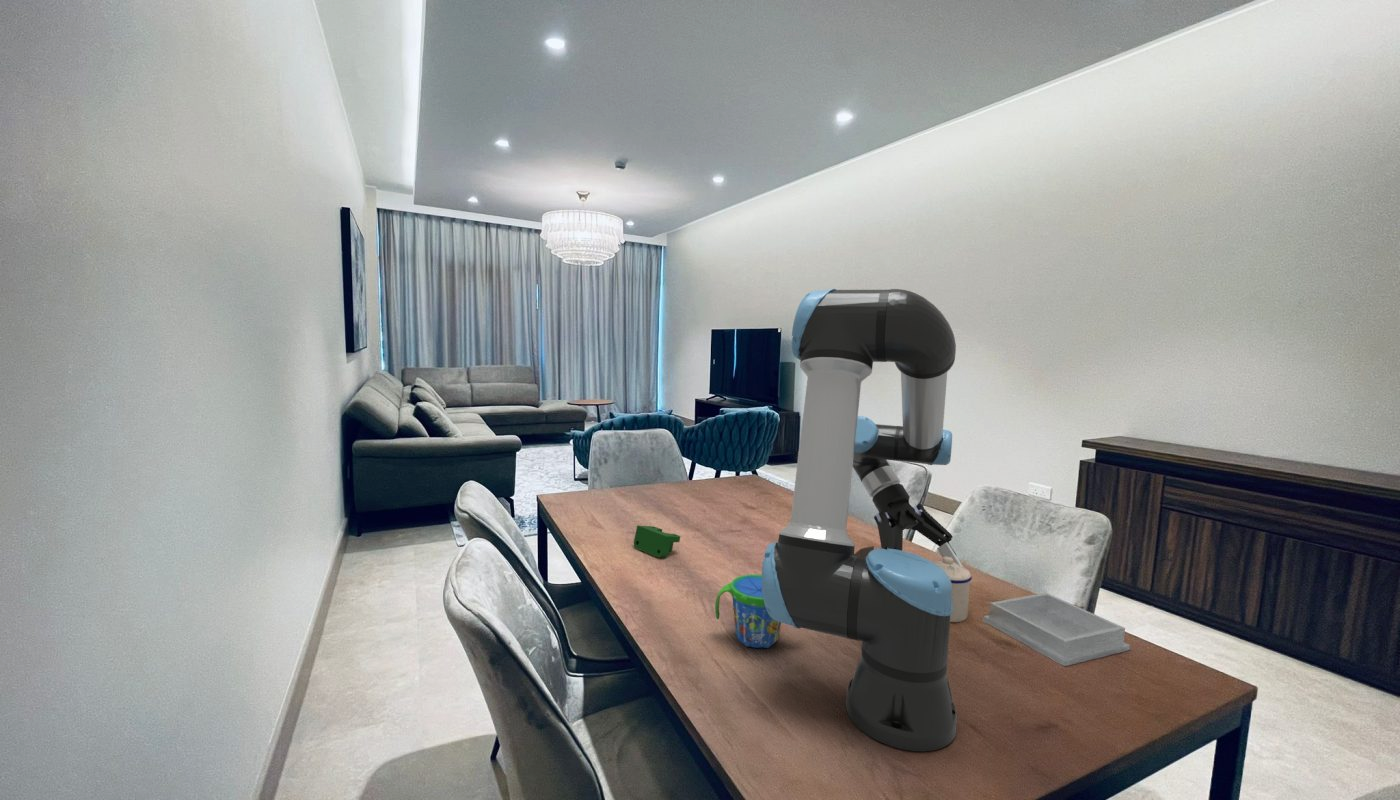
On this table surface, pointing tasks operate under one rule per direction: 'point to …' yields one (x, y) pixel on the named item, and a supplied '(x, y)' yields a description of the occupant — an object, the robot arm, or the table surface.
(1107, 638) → the rectangular tray
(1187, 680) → the table surface
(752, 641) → the snack cup
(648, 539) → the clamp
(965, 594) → the teacup with lid
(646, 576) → the table surface
